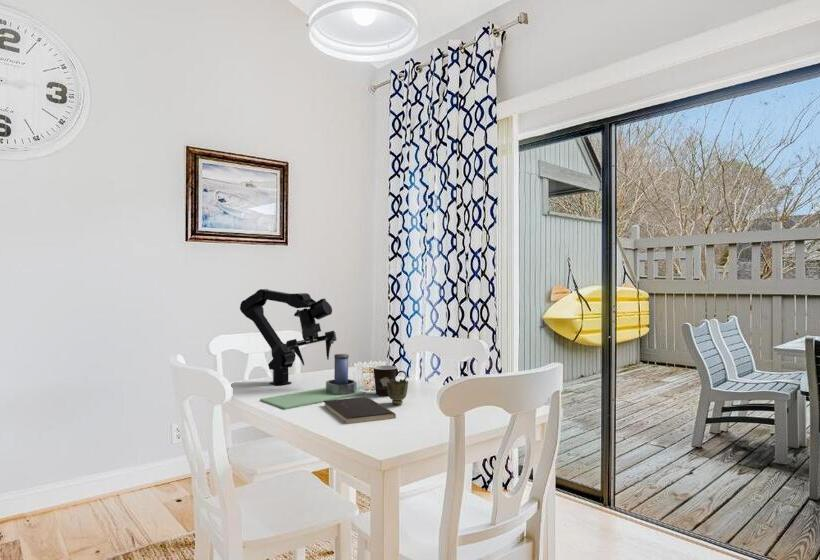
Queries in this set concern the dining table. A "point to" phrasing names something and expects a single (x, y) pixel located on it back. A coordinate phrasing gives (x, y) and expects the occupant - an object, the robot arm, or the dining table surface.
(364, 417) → the hardcover book
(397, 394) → the cup
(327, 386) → the cup
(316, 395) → the putting mat
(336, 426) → the dining table surface
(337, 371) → the golf ball sleeve
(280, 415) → the dining table surface
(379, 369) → the coffee mug
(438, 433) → the dining table surface
